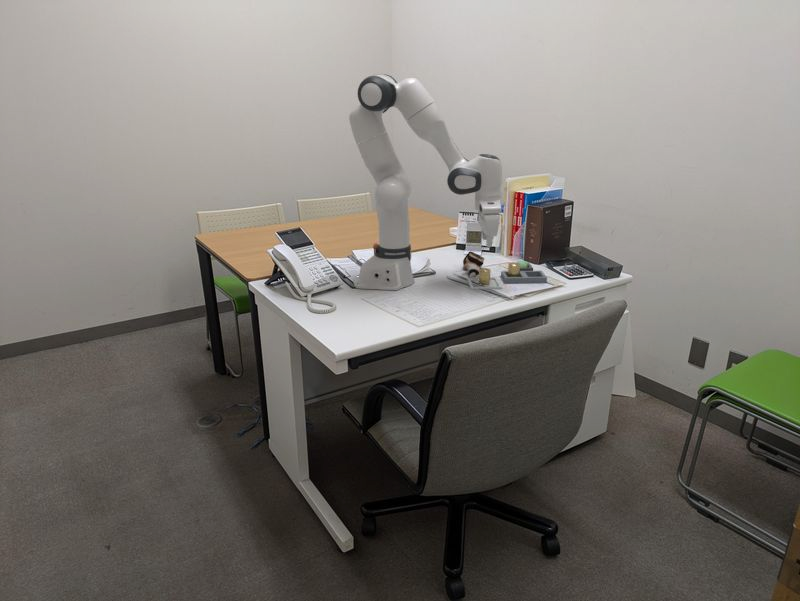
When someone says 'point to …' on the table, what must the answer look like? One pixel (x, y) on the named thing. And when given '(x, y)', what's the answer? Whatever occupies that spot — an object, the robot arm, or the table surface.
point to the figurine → (473, 264)
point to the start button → (522, 264)
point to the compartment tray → (524, 278)
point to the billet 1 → (484, 276)
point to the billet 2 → (513, 269)
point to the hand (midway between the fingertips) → (486, 242)
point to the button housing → (529, 268)
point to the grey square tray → (485, 287)
